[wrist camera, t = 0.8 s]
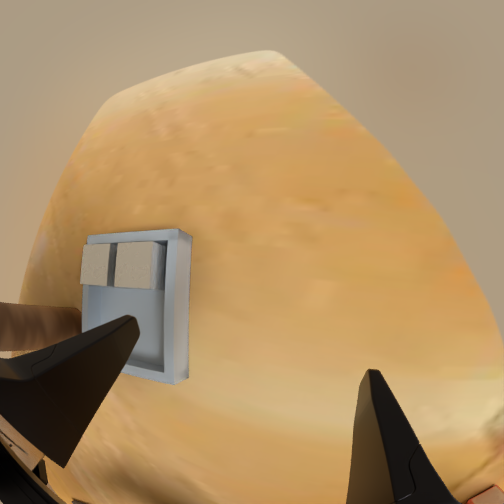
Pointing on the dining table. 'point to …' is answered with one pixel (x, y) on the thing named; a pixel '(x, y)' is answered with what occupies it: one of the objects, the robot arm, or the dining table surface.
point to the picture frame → (77, 502)
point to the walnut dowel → (36, 326)
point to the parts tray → (149, 308)
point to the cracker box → (489, 497)
